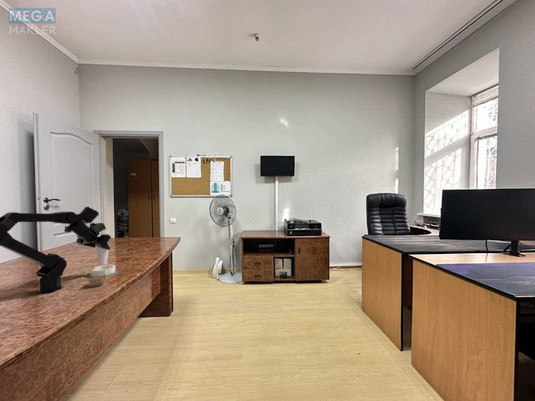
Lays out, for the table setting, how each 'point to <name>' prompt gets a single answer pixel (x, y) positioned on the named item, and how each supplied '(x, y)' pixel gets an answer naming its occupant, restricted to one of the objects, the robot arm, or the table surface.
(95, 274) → the white bowl
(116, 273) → the mat
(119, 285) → the table surface
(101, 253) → the smoothie
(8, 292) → the table surface
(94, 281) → the walnut block
